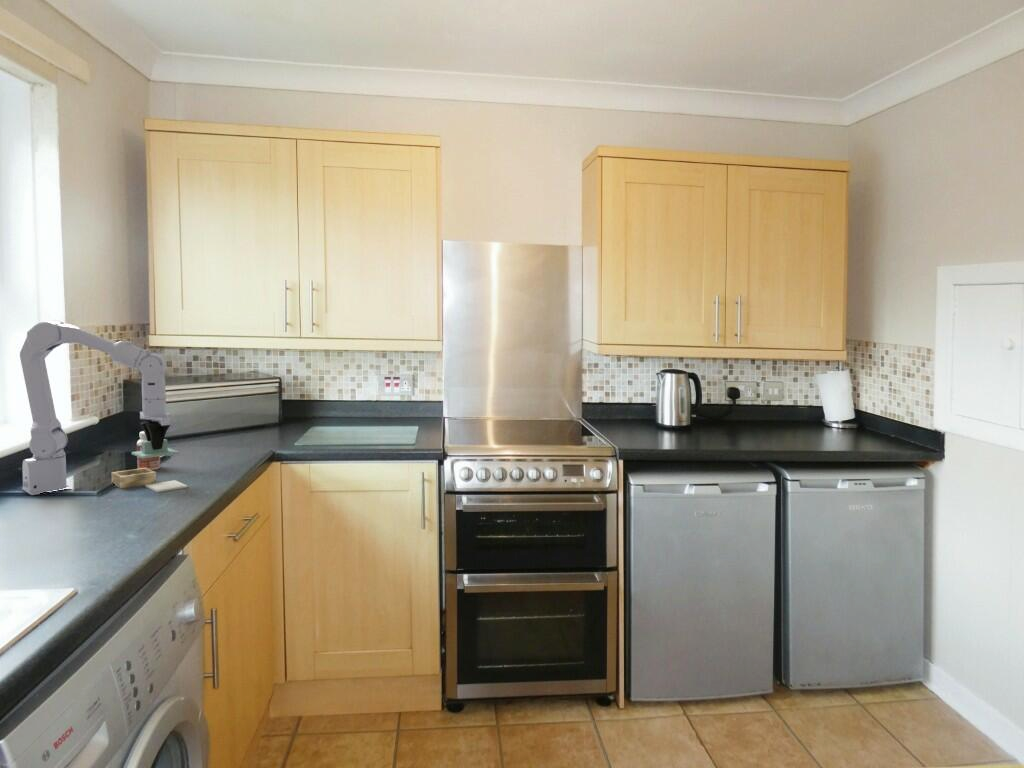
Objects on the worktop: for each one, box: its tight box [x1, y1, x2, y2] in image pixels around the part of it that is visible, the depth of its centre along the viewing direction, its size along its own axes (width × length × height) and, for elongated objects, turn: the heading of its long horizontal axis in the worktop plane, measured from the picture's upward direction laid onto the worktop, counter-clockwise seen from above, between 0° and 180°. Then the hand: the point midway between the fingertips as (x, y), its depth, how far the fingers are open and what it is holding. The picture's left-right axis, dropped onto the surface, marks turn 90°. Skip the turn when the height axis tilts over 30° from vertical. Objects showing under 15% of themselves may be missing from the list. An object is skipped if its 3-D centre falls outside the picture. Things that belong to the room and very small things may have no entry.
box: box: [111, 468, 157, 490], centre depth 202 cm, size 9×7×3 cm
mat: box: [144, 479, 189, 493], centre depth 200 cm, size 8×8×1 cm
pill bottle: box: [136, 430, 161, 471], centre depth 219 cm, size 6×6×11 cm
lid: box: [131, 438, 179, 459], centre depth 199 cm, size 9×7×4 cm
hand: (155, 448), depth 199 cm, fingers closed on lid, 2 cm apart
